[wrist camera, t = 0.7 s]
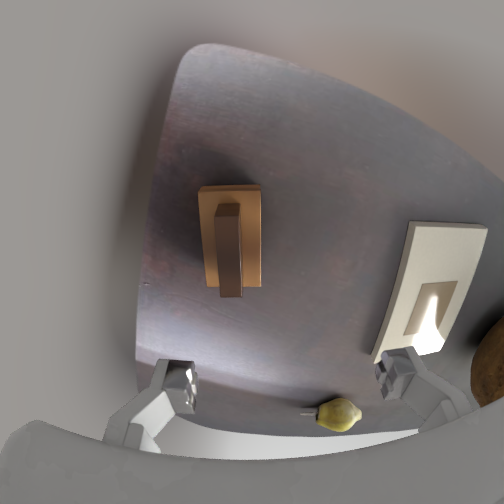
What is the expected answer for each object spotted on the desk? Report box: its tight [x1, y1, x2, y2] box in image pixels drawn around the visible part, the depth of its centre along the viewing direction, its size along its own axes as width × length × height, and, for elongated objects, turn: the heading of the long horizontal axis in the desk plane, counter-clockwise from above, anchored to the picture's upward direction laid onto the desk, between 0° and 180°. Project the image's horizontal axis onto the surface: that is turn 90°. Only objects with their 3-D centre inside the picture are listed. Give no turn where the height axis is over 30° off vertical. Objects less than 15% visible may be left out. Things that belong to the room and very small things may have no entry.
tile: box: [371, 221, 488, 363], centre depth 30 cm, size 20×12×2 cm, turn 1°
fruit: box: [300, 398, 361, 432], centre depth 39 cm, size 6×6×10 cm
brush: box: [198, 185, 261, 297], centre depth 24 cm, size 9×5×6 cm, turn 1°
